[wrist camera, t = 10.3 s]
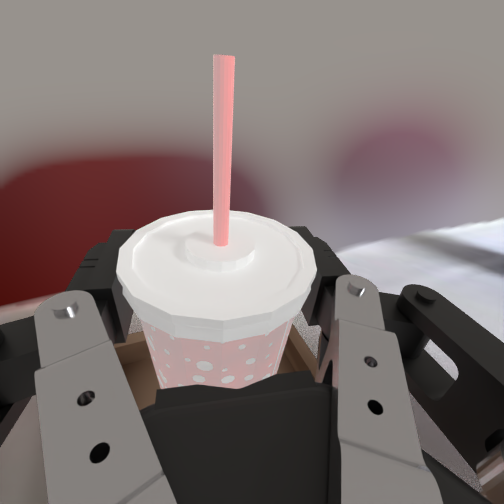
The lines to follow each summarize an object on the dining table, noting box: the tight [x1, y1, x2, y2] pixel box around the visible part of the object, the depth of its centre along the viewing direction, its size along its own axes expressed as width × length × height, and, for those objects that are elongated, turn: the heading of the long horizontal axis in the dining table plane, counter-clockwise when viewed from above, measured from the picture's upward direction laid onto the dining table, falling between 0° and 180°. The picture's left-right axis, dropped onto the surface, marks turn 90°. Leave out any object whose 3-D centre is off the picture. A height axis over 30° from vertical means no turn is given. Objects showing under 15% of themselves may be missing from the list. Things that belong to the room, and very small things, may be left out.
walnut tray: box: [114, 324, 317, 410], centre depth 15 cm, size 13×13×3 cm
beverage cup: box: [116, 55, 317, 389], centre depth 10 cm, size 6×6×14 cm
